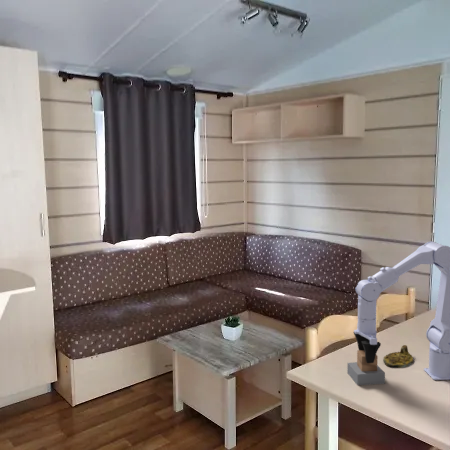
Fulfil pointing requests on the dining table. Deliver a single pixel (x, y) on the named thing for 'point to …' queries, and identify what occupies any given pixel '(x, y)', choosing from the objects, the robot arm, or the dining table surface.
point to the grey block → (365, 375)
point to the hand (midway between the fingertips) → (366, 357)
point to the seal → (399, 358)
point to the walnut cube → (363, 364)
